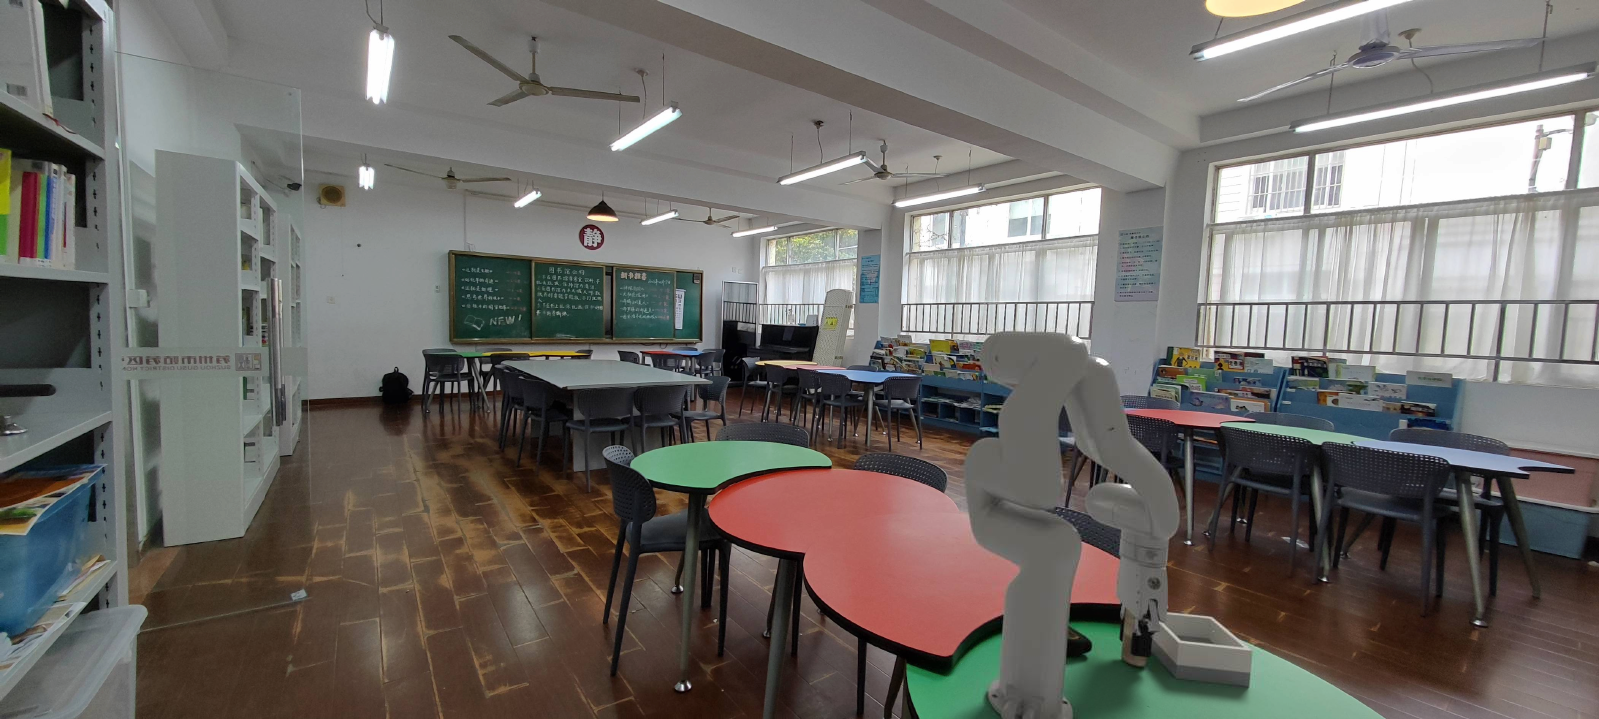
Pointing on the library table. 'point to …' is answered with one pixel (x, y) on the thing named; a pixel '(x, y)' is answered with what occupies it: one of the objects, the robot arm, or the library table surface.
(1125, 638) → the peg
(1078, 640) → the tape measure
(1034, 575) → the robot arm
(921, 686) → the library table surface
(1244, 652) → the bore box
